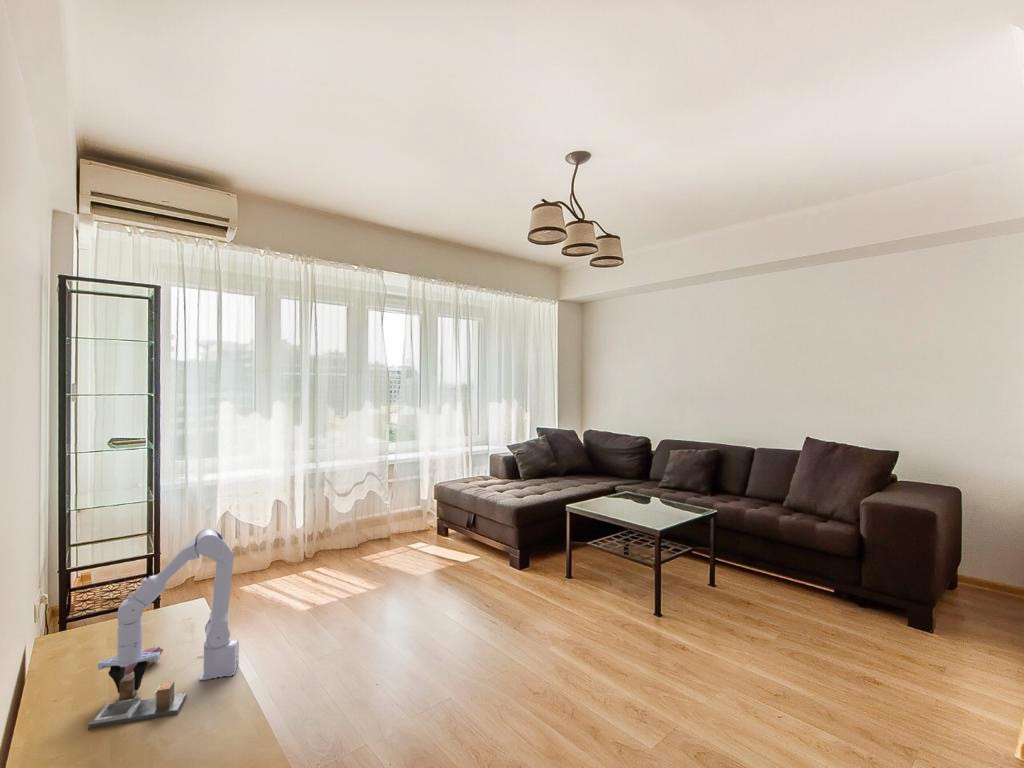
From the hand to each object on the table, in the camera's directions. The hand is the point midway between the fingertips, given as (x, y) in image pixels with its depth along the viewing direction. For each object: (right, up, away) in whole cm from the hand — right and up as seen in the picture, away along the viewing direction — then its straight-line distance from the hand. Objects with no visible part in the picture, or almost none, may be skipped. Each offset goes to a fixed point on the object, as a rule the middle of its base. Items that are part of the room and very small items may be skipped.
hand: (129, 689), depth 145 cm
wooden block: (0, -1, 0) cm, 1 cm away
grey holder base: (+9, -2, -8) cm, 12 cm away
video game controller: (-7, -2, +15) cm, 17 cm away
